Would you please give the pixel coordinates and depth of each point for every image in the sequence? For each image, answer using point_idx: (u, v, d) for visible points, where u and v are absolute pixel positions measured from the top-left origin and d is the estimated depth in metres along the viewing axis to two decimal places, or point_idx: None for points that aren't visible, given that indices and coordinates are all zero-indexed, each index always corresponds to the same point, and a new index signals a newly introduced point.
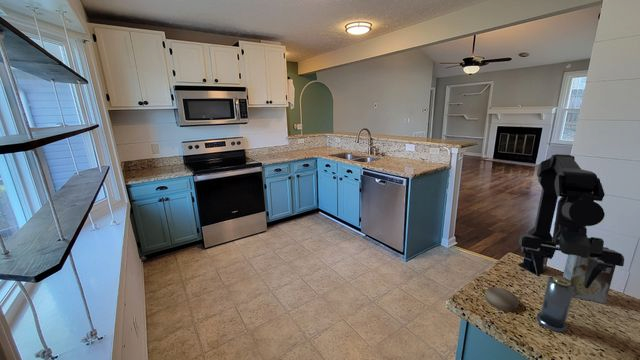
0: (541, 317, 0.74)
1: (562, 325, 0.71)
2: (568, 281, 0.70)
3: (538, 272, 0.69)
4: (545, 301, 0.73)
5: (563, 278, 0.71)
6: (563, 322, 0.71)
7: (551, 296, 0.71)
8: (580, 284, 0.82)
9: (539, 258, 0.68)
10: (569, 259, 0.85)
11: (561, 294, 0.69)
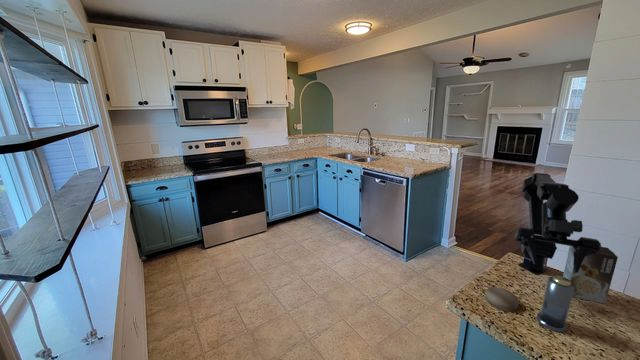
0: (541, 317, 0.74)
1: (562, 325, 0.71)
2: (568, 281, 0.70)
3: (534, 259, 0.79)
4: (545, 301, 0.73)
5: (563, 278, 0.71)
6: (563, 322, 0.71)
7: (551, 296, 0.71)
8: (580, 284, 0.82)
9: (534, 246, 0.80)
10: (569, 259, 0.85)
11: (561, 294, 0.69)
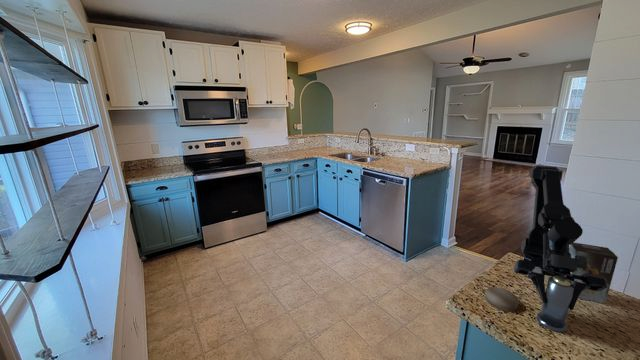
0: (541, 317, 0.74)
1: (562, 325, 0.71)
2: (568, 281, 0.70)
3: (544, 297, 0.72)
4: None
5: (563, 278, 0.71)
6: (563, 322, 0.71)
7: (551, 296, 0.71)
8: None
9: (543, 282, 0.74)
10: None
11: (561, 294, 0.69)
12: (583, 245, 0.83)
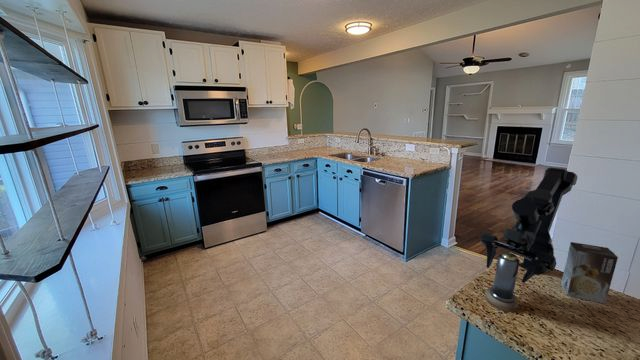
0: (493, 288, 0.83)
1: (506, 296, 0.79)
2: (514, 257, 0.77)
3: (487, 263, 0.83)
4: (495, 273, 0.82)
5: (511, 255, 0.79)
6: (507, 294, 0.79)
7: (497, 268, 0.80)
8: (580, 284, 0.82)
9: (491, 251, 0.83)
10: (569, 259, 0.85)
11: (503, 267, 0.78)
12: (583, 245, 0.83)
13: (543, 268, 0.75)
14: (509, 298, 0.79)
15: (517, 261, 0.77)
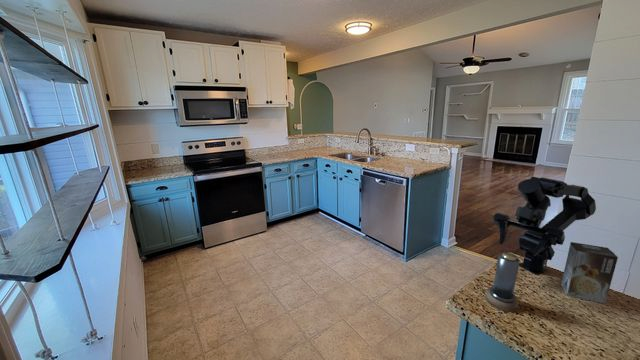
0: (493, 288, 0.83)
1: (506, 296, 0.79)
2: (514, 257, 0.77)
3: (500, 240, 0.90)
4: (495, 273, 0.82)
5: (511, 255, 0.79)
6: (507, 294, 0.79)
7: (497, 268, 0.80)
8: (580, 284, 0.82)
9: (503, 229, 0.90)
10: (569, 259, 0.85)
11: (503, 267, 0.78)
12: (583, 245, 0.83)
13: (552, 242, 0.82)
14: (509, 298, 0.79)
15: (517, 261, 0.77)
